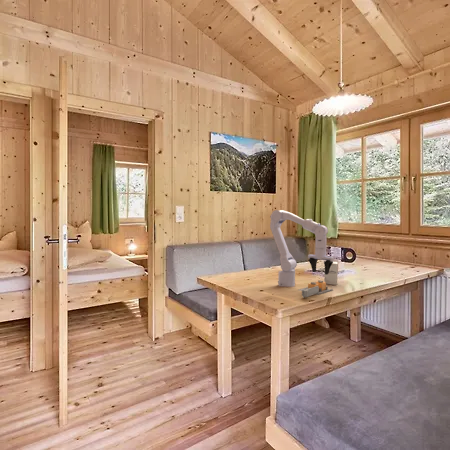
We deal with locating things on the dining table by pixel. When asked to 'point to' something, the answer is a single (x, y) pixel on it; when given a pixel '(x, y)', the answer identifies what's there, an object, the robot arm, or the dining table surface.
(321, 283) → the orange knob block
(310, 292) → the cover bar
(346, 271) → the dining table surface
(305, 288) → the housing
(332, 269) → the supplement box
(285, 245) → the robot arm
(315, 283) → the block
